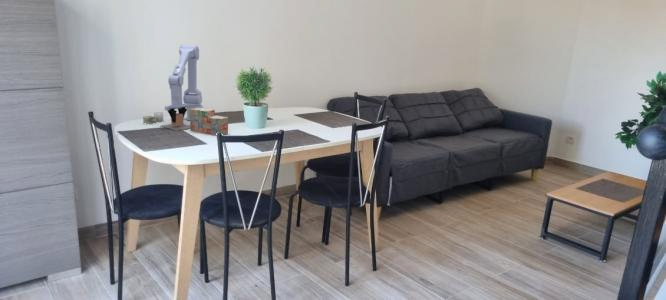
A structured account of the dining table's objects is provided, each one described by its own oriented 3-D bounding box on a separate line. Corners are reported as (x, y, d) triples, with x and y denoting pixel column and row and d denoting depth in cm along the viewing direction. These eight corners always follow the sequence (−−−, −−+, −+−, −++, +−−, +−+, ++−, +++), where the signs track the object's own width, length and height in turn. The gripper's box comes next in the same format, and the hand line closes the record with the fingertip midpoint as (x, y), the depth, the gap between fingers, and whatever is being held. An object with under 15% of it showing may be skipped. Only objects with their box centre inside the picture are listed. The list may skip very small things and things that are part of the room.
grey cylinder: (160, 120, 284) (160, 112, 283) (165, 121, 281) (164, 113, 280) (152, 121, 280) (152, 112, 279) (157, 122, 277) (156, 114, 276)
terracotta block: (178, 123, 270) (177, 113, 268) (183, 124, 267) (182, 114, 266) (171, 124, 266) (171, 114, 265) (176, 125, 264) (176, 115, 262)
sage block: (151, 122, 278) (151, 115, 277) (156, 123, 274) (155, 117, 274) (143, 123, 274) (143, 116, 273) (147, 124, 271) (147, 118, 270)
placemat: (179, 123, 276) (179, 122, 276) (195, 128, 267) (195, 127, 267) (160, 126, 267) (160, 125, 267) (176, 131, 258) (176, 130, 258)
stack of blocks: (228, 134, 255) (228, 111, 252) (220, 136, 249) (220, 113, 246) (198, 129, 265) (197, 107, 261) (190, 131, 259) (189, 108, 256)
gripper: (182, 95, 271) (183, 119, 274) (160, 97, 259) (162, 122, 263) (191, 96, 267) (192, 120, 270) (168, 99, 255) (170, 124, 259)
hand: (177, 121), depth 266 cm, fingers closed on terracotta block, 4 cm apart
